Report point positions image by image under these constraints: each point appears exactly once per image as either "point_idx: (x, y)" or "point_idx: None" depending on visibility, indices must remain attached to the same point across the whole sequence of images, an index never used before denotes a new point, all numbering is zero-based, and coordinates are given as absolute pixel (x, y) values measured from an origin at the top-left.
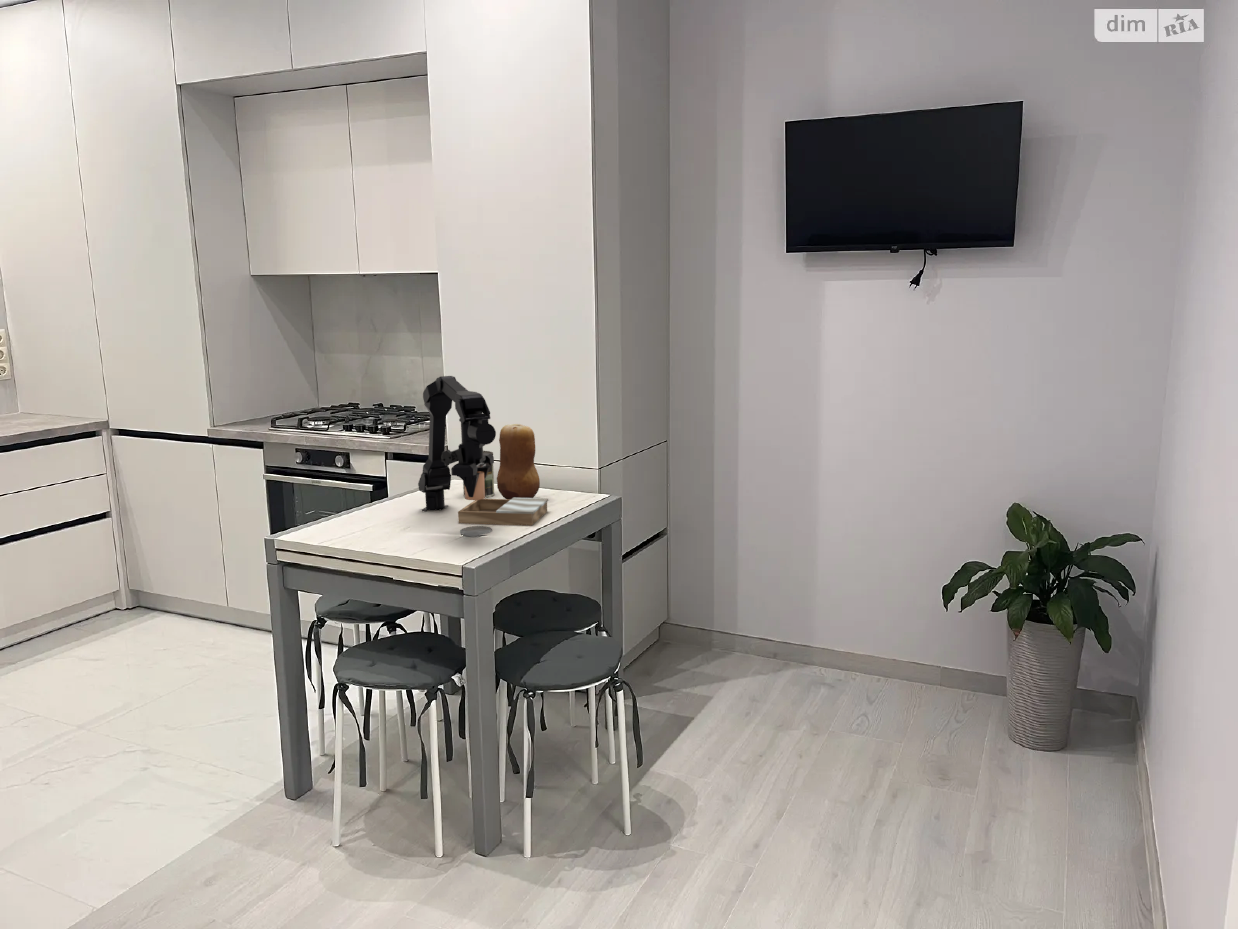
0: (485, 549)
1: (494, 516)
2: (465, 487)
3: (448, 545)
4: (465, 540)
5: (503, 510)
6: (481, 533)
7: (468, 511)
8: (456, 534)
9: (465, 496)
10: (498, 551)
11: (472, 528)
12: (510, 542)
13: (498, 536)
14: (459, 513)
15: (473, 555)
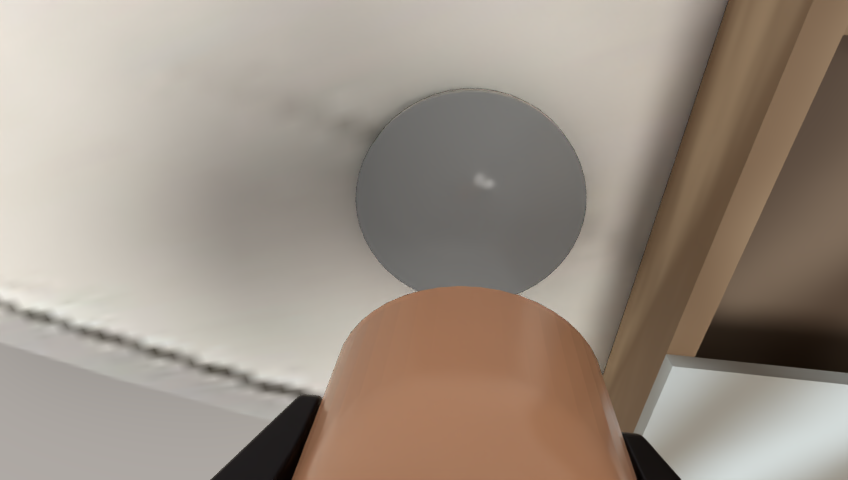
0: (152, 315)
1: (659, 323)
2: (316, 476)
3: (140, 98)
4: (280, 177)
5: (674, 408)
6: (383, 260)
7: (790, 115)
8: (418, 67)
9: (370, 333)
10: (147, 369)
11: (511, 174)
12: (298, 393)
13: None
14: (798, 4)
15: (40, 284)
